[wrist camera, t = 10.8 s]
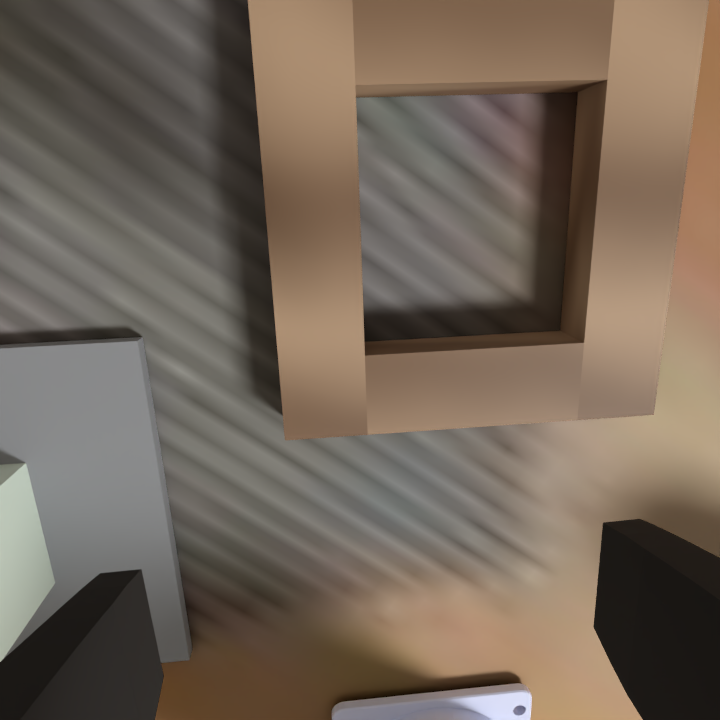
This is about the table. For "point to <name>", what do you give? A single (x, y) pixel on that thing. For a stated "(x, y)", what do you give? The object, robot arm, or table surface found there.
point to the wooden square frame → (586, 211)
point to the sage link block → (20, 555)
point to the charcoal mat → (94, 472)
